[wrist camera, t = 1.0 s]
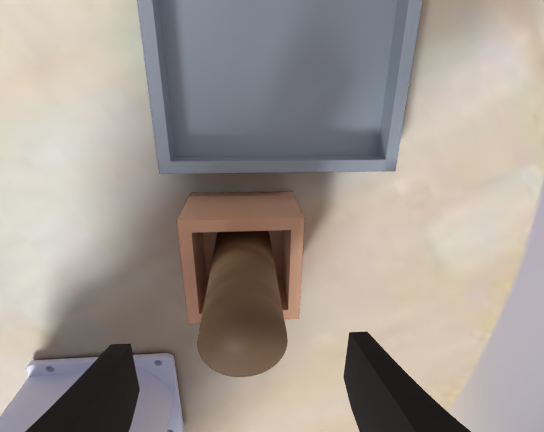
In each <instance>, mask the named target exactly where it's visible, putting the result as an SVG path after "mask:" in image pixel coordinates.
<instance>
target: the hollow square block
mask: <svg viewBox="0 0 544 432" xmlns="http://www.w3.org/2000/svg"><path fill="white" fill-rule="evenodd" d="M177 228H178V237H179V246H180V255H181V264H182V272H183V281H184V290H185V299H186V308H187V317H188V324H197V323H201V318H202V313H203V307H204V302H205V296H206V291H207V285H208V280H209V274H210V269H211V263H212V258H213V252H214V247H215V242H216V236H217V233H218V232H234V231H268V233H269V235H270V241H271V246H272V252H273V258H274V264H275V270H276V275H277V281H278V287H279V293H280V298H281V304H282V310H283V316H284V319H299V313H300V293H301V274H302V255H303V235H304V216H303V214H302V212H301V209H300V207H299V205H298V203H297V201H296V198H295V196H294V194H293V192H230V193H190V195H189V197H188V199H187V201H186V203H185V205H184V207H183V209H182V211H181V213H180V215H179V217H178V219H177Z"/></svg>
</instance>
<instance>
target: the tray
mask: <svg viewBox="0 0 544 432" xmlns="http://www.w3.org/2000/svg"><path fill="white" fill-rule="evenodd" d="M137 4H138V12H139V20H140V28H141V35H142V43H143V51H144V59H145V67H146V75H147V82H148V90H149V98H150V106H151V114H152V122H153V129H154V137H155V145H156V153H157V161H158V169H159V174H190V173H277V172H365V171H395V170H396V163H397V157H398V151H399V145H400V138H401V132H402V126H403V119H404V113H405V107H406V101H407V94H408V88H409V82H410V75H411V69H412V63H413V57H414V50H415V44H416V38H417V31H418V25H419V19H420V12H421V6H422V0H137Z"/></svg>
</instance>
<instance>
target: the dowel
mask: <svg viewBox="0 0 544 432" xmlns="http://www.w3.org/2000/svg"><path fill="white" fill-rule="evenodd" d="M197 347H198V352H199V354H200V356H201V358H202V360H203V361H204V362H205V363H206V364H207V365H208V366H209V367H210V368H211V369H213V370H215V371H216V372H219V373H221V374H224V375H227V376H233V377H248V376H253V375H257V374H260V373H263V372H265V371H267V370H269V369H270V368H272V367H273V366H274V365H275V364H277V363H278V362H279V360H280V359H281V358H282V356H283V355H284V353H285V351H286V347H287V333H286V327H285V322H284V316H283V310H282V304H281V298H280V293H279V287H278V281H277V275H276V270H275V264H274V258H273V252H272V246H271V241H270V235H269V233H268V231H234V232H218V233H217V236H216V242H215V247H214V252H213V258H212V263H211V269H210V274H209V280H208V285H207V291H206V296H205V302H204V307H203V313H202V318H201V324H200V329H199V335H198V341H197Z"/></svg>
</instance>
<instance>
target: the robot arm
mask: <svg viewBox="0 0 544 432" xmlns="http://www.w3.org/2000/svg"><path fill="white" fill-rule="evenodd" d="M157 360H160V361H157ZM26 369H27V372H28V375H29V378H28V379H27V381H26V382H25V383H24V385H23V386H22V387H21V389H20V390H19V392H18V393H17V394H16V396H15V397H14V398H13V400H12V401H11V402H10V404H9V405H8V406H7V408H6V409H5V411H4V412H3V413H2V415H1V416H0V432H183V428H184V424H183V417H182V410H181V403H180V396H179V389H178V382H177V375H176V368H175V361H174V357H173V355H171V354H169V353H159V354H141V355H133V354H132V349H131V344H114V345H110V346H109V347H108V348H107V349H106V350H105V351H104V352H103V353H102V354H101V355H100V356H99V357H86V358H68V359H50V360H34V361H32V362H30V363H29V365H28V366H27V368H26ZM344 381H345V385H346V389H347V393H348V397H349V401H350V405H351V408H352V411H353V414H354V417H355V420H356V423H357V425H358V428H359V431H360V432H471V431H469V430H468V429H467V428H466V427H465V426H463V425H462V424H461V423H460V422H458V421H457V420H456V419H455V418H454V417H453V416H451V415H450V414H449V413H448V412H447V411H446V410H445V409H444V408H443V407H441V406H440V405H439V404H438V403H437V402H436V401H435V400H434V399H433V398H432V397H431V396H429V395H428V394H427V393H426V392H425V391H424V390H423V389H422V388H421V387H420V386H419V385H418V384H417V383H416V382H415V381H414V380H413V379H412V378H411V377H410V376H409V375H408V374H407V373H406V372H405V371H404V370H403V369H402V368H401V367H400V366H399V365H398V364H397V363H396V362H395V361H394V360H393V359H392V358H391V357H390V355H389V354H388V353H387V352H386V351H385V350H384V349H383V348H382V347H381V346H380V345H379V344H378V343H377V342H376V341H375V339H374V338H373V337H372V336H371V335H370V334H369V333H368V332H350V333H349V339H348V347H347V355H346V363H345V370H344Z"/></svg>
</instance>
